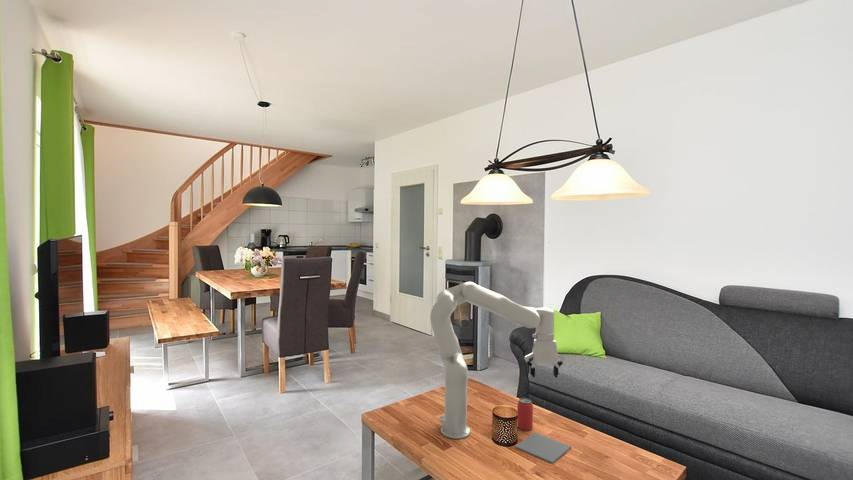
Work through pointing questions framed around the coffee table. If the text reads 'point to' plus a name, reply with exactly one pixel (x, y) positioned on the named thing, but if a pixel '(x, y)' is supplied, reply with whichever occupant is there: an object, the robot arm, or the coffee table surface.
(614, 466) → the coffee table surface
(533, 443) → the slate mat
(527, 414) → the beer can
